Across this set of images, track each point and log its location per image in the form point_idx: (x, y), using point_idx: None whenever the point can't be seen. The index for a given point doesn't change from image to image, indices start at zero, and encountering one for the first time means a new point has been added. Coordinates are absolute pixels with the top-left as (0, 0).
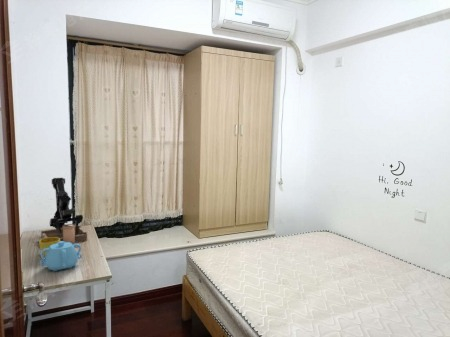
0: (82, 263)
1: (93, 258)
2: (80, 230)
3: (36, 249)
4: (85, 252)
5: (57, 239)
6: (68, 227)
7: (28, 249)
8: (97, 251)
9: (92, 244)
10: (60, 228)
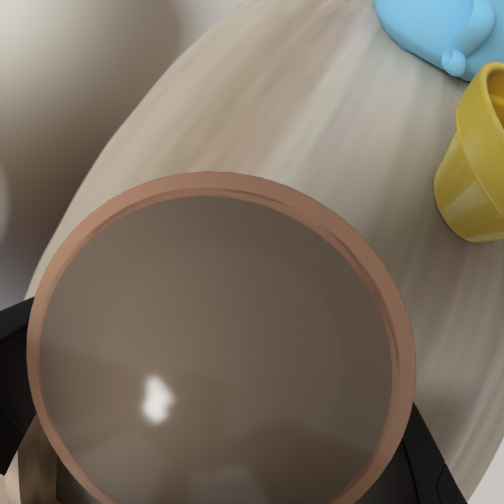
0: (350, 5)
1: (281, 6)
2: (25, 474)
3: (467, 430)
4: (257, 76)
5: (491, 132)
6: (310, 207)
7: (485, 460)
8: (196, 51)
9: (106, 186)
10: (407, 442)
